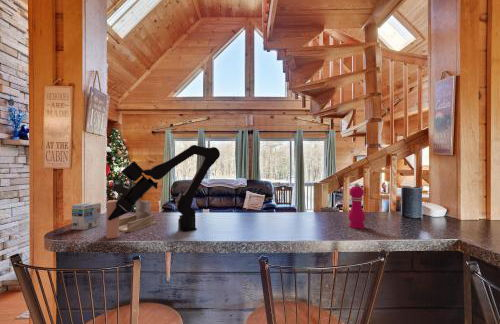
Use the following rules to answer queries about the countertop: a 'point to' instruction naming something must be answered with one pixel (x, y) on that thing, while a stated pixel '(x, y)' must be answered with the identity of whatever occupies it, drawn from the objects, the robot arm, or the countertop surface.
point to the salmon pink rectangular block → (114, 223)
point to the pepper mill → (356, 208)
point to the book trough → (138, 218)
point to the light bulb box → (86, 215)
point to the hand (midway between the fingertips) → (109, 217)
